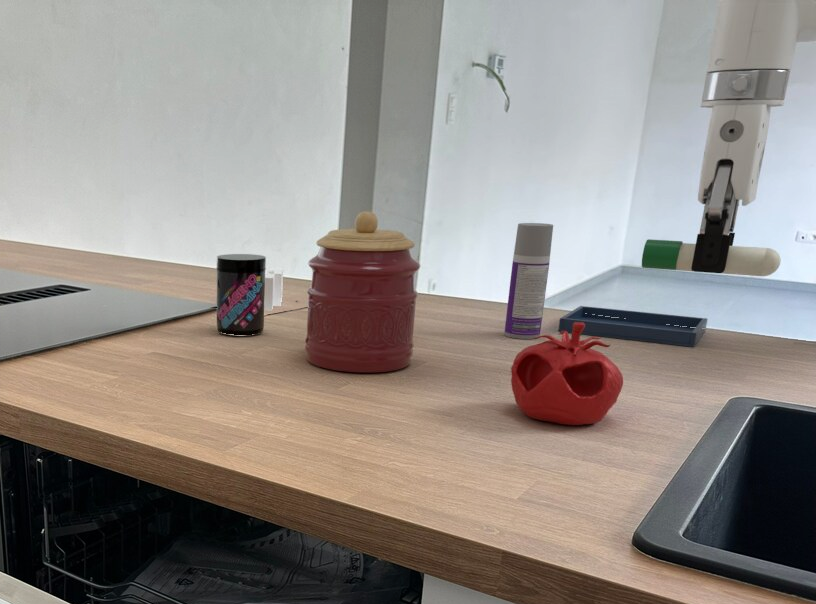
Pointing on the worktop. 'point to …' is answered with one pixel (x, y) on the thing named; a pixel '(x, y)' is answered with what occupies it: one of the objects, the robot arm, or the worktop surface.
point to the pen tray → (636, 325)
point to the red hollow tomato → (565, 380)
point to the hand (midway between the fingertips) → (709, 268)
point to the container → (528, 280)
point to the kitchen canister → (362, 299)
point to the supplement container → (240, 293)
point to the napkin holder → (273, 288)
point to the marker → (681, 255)
